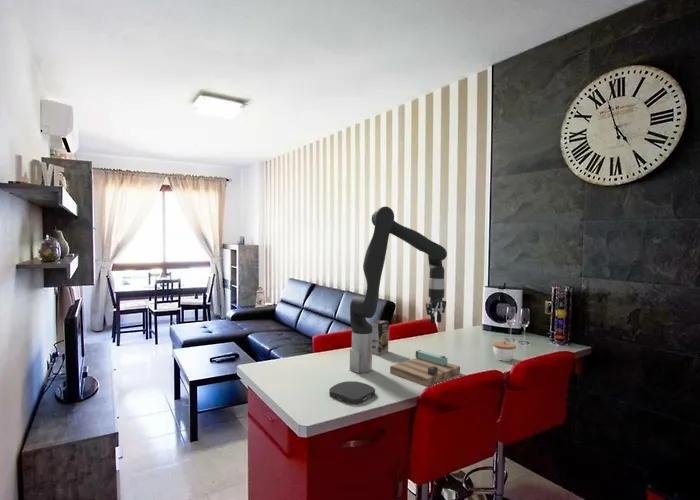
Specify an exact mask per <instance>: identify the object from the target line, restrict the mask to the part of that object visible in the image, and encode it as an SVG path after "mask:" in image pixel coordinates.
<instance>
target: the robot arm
mask: <svg viewBox="0 0 700 500" xmlns="http://www.w3.org/2000/svg"><path fill="white" fill-rule="evenodd" d="M371 223H372V225H373V226H374V230H373V234H372V237H371V240H370V242H369V244H368V246H367V249H366V251H365V256H364V259H363V265H362V268H363V273H364V277H365V280H366V291H365V296H364V295H354V296H353V297H352V298H351V301H350V305H349V317H350V318H349V321H350V327H351V348H350V349H349V371H352V372H354V373H357V374H364V373H370V372H372V371H373V369H372V368H373V365H372V364H373V353H372V330H373V329H372V325H371V324H370V322H368V320H367V319H372V318H373V317H374V315H376V313H377V308H378V304H379V292H380V287H381V286H380V284H381V280H382V274H383V269H384V266H385V261H386V254H387V249H388V244H389V238H390V234H391V236H392V235H393V237H394V236H395V237H396V238H399V239H400V240H401V241H403V242H405V243H407V244H408V245H410V246H412V247H413V248H414V249H415V250H418V251H419V252H422V253H425V254H426V255H427V258H428V267H429V279H428V294H427V295H428V298H429V302H425V310H426V315H428V316H430V317H429V321H430V324H431V325H435V324H436V322H437V323H439V324H440V323H442V315H443V314H445V312H446V306H447V301H446V300H443V299H444V298H445V291H446V289H445V287H446V284H445V283H446V282H445V267H444V266H443V261H444V260H445V259H446V258H447V256H448V252H447V250H446V248H445V247H444V246H443V245H440V244H438V243H436V242H435V241H433V240H431V239H429V238H428V237H426V236H425V235H423V234H422V233H420V232H418V231H416V230H414V229H412V228H410V227H408V226H407V227H406V226H404V225H402V224H400V223H398V222H397V221H395V213H394V210H393V209H392V208H391V207H389V206H382V207H379V208H378V209H376V210H375V211H374V212H373V214H371Z"/></svg>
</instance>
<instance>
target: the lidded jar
mask: <svg viewBox="0 0 700 500" xmlns="http://www.w3.org/2000/svg"><path fill="white" fill-rule="evenodd" d="M492 345H493V346H492V351H493V354H494V356H495V357H496V358H497V360H498V361H500V360H502V361H501V362H511V361H512V360H513V358H514V357H515V355H516V353H517V352H516V349H517V345H516V344H515V343H512V342H508V341H506V340H503V341H493V342H492ZM510 360H511V361H510Z"/></svg>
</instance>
